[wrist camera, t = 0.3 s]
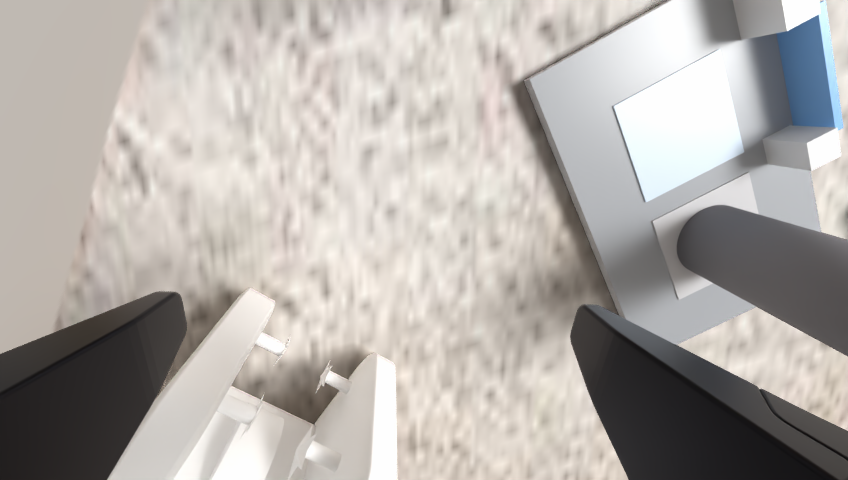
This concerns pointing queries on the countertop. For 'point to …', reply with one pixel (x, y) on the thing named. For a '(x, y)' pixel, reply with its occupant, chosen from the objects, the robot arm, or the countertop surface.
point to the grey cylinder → (773, 268)
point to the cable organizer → (262, 417)
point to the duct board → (690, 140)
